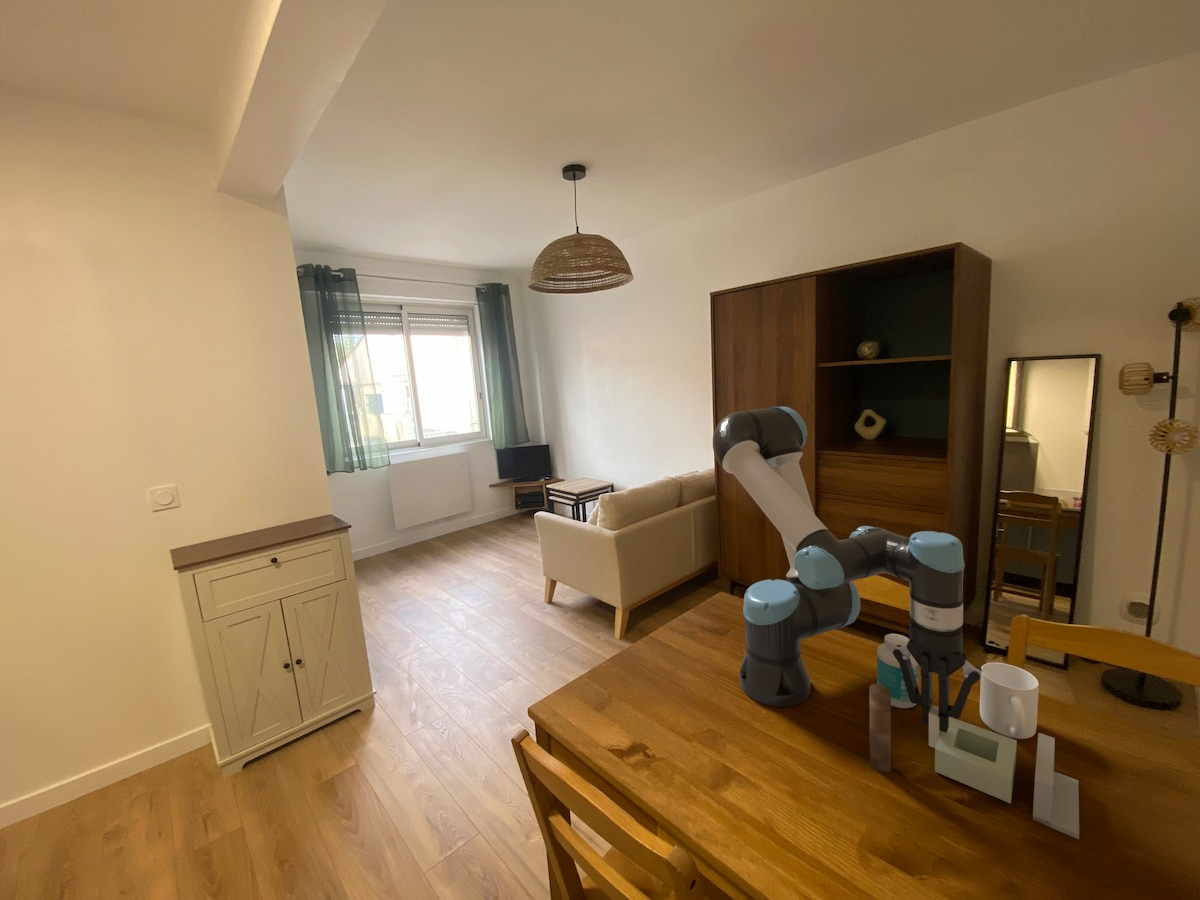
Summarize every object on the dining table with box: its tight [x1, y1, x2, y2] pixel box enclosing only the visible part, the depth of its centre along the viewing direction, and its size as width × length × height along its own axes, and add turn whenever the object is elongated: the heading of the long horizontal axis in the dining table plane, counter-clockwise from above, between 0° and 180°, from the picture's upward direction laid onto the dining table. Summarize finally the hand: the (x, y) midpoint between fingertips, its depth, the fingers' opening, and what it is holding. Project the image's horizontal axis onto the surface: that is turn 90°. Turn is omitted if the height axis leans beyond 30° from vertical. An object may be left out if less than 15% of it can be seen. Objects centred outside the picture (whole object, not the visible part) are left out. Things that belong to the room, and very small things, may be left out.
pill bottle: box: [876, 633, 920, 709], centre depth 100 cm, size 8×7×14 cm
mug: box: [979, 662, 1040, 740], centre depth 89 cm, size 12×8×10 cm
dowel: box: [868, 683, 892, 775], centre depth 83 cm, size 3×3×15 cm
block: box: [934, 716, 1018, 804], centre depth 82 cm, size 10×10×4 cm
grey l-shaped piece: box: [1032, 732, 1080, 840], centre depth 75 cm, size 5×12×7 cm, turn 136°
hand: (935, 743), depth 86 cm, fingers closed
